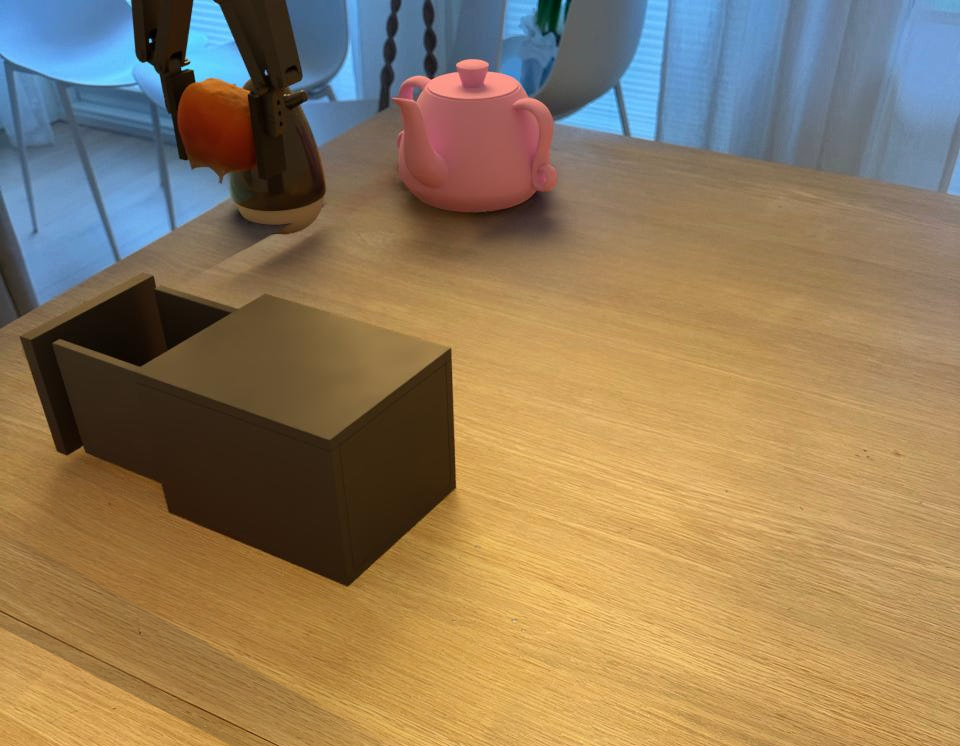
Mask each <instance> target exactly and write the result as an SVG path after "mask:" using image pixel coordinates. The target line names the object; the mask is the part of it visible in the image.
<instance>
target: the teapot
mask: <svg viewBox="0 0 960 746" xmlns="http://www.w3.org/2000/svg"><path fill="white" fill-rule="evenodd" d="M455 66H456V70H457V71H455V72H450V73H445V74H442V75H439V76H436V77H434V78H432V79H430V78H429V77H426V76H424V75H414V76H411V77H409V78H407V79H406V80H405V81H403V82H402V83H401V85H400V87H399V89H398V95H397V97H391V98H390V99H391V100H392V101H393V103H394V104H396V105H397V106H398V109H399V113H400V118H401V122H402V126H403V130H402V131H400V133H398V135H397V138H396V147H397V149H398V158H397V164H398V174H399V176H400V179H401V180H402V182H403V184H404V185H405V186H406V187H407V188H408V190H409V191H410V192H411V193H412V194H413V195H414V196H415V197H416V198H417V199H418V200H420V201H421V202H422V203H424V204H426V205H428V206H431V207H434V208H437V209H441V210H446V211H452V212H460V213H477V212H485V213H487V212H486V211H489V212H495V211H500V210H504V209H509V208H512V207H515V206H517V205H520V204H522V203H524V202H526V201H528V200H529V199H530V198H532V197H533V196H534V194H535V193H536V192H537V191H539V192H547V191H551V190H552V189H554V188H555V187H556V184H557V182H558V173H557V171H556V169H555V167H553V165H551V154H550V150H551V146H552V142H553V136H554V119H553V116H552V114H551V111H550V109H549V108H548V107H547V106H546V104H544V103H543V102H541V101H540V100H538V99H536V98H533V97H529V95H528V94H527V92H526V90H525V88H524V87H523V86H522V84H521V83H520V82H519V81H518V80H517V79H516V78H514V77H513V76H510V75H507V74H504V73H501V72H496V71H495V72H494V71H489V66H490V65H489V63H488V62H487V61H485V60H482V59H476V58H474V59H473V58H472V59H471V58H469V59H464V60H461V61H459V62H457V63H456V65H455ZM414 88H417V89H419V90H421V93H420V94H419V96H418V98H417V100H414V95H413V94H414V93H413V91H414Z"/></svg>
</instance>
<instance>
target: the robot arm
mask: <svg viewBox="0 0 960 746" xmlns="http://www.w3.org/2000/svg"><path fill="white" fill-rule="evenodd" d="M194 1H195V0H130V4H131V16H132V17H131V18H132V29H133V41H134V53H135V57H136V59H137V60H138V61H139V62H140V63H142V64H145V63H148V64H149V65H151V66H152V67H153V69H154V71H155V72H156V73H157V75H159V79H160V84H161V90H162V94H163V99H164V100H163V101H164V105H165V109H166V111H167V113H168V115H171V121H172V126H173V132H174V136H175V142H176V143H175V144H176V148H177V154H178V159H179V160H180V161H181V160H182V161H189V160H188V157H187V154H186V151H185V148H184V144H183V141H182V138H181V135H180V132H179V129H178V117H177V116H178V107H179V103H180V99H181V96H182V94H183V92H184V90H185V89H186V88H187V87H188V86H189V85H190V84H192V83H196V76H195V70H194V69H190V68H185V69H182V68H184V67H186V66H189V65H190V64H191V60H189V59H188V58H187V50H188V44H189V36H190V29H191V21H192V14H193V6H194ZM212 1H213V2H214V3H216V4H218V6H219V8H220V10H221V12H222V15H223V17H224V19H225V22H226V24H227V26H228V29H229V31H230V33H231V35H232V38H233V40H234V43H235V45H236V48H237V50H238V52H239V55H240V57H241V59H242V61H243V64H244V66H245V68H246V72H247V74H248V75H249V79H251V80H252V83H253V85H254V87H255V89H254V90H252V91H250V92H249V94H247V95H248V102H249V110H250V117H251V124H252V131H253V138H254V145H255V153H256V160H257V167H258V174H259V178H260V179H264V180H267V179H269V178H271V177H273V176H275V175H277V174H279V173H281V172H283V171H285V170H287V169H286V160H285V152H284V144H283V136H282V133H285V132H286V129H287V121H286V114H285V104H284V96H283V92H284V89H285V88H286V87H288V86H289V87H291V86H293V85H296V84H297V83H300V82H301V81H302V80H303V77H304V74H303V69H302V63H301V61H300V56H299V52H298V48H297V44H296V43H297V42H296V39H295V33H294V30H293V26H292V22H291V18H290V13H289V9H288V4H287V0H212ZM150 40H151V42H150ZM265 74H268V75H265Z"/></svg>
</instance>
